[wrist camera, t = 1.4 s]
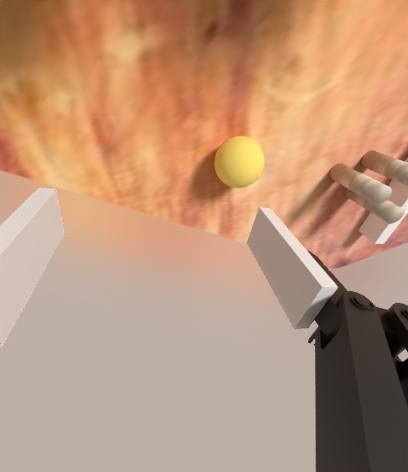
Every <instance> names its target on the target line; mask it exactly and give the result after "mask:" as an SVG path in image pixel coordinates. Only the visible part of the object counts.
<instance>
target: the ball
mask: <svg viewBox="0 0 408 472" xmlns="http://www.w3.org/2000/svg"><path fill="white" fill-rule="evenodd" d="M214 165H215V171H216V173H217V175H218V177H219V178H220V180H221V181H222V182H223V183H225V184H226V185H228V186H230V187H235V188H242V187H246V186H248V185H250V184H252V183H253V182H255V181H256V180H257V179H258V177H259V176H260V174H261V173H262V170H263V167H264V155H263V151H262V149H261V147H260V146H259V145H258V143H257V142H255V141H254V140H253V139H251V138H249V137H245V136H236V137H232V138H230V139H228V140H226V141H225V142H224V143H223V144H222V145H221V146H220V147H219V149H218V151H217V153H216V156H215V161H214Z"/></svg>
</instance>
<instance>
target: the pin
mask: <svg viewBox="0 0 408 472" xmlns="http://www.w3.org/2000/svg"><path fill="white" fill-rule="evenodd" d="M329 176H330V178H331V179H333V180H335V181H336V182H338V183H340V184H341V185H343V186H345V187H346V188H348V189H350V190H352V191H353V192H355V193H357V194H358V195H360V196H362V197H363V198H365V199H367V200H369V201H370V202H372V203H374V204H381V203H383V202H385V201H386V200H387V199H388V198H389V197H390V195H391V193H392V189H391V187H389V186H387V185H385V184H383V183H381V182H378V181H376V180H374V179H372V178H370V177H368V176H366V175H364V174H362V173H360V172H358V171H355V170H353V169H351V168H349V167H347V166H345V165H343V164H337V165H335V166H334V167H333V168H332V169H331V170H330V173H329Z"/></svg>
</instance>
